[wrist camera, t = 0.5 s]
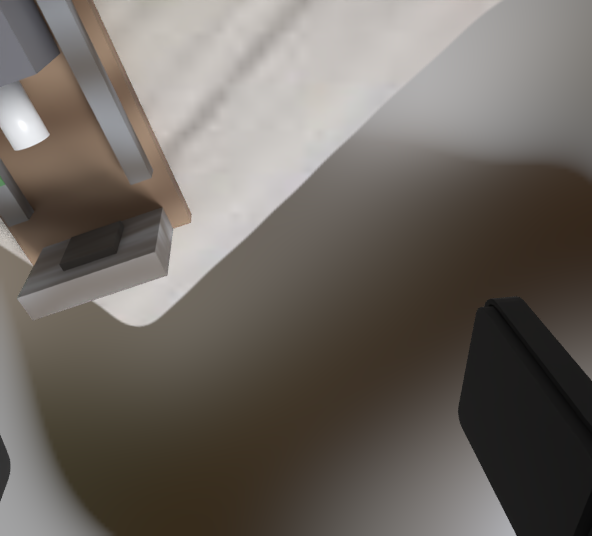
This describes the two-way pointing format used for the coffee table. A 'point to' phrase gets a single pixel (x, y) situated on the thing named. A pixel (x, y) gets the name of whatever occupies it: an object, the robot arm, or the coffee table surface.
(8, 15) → the block
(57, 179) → the anvil track
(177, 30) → the coffee table surface
